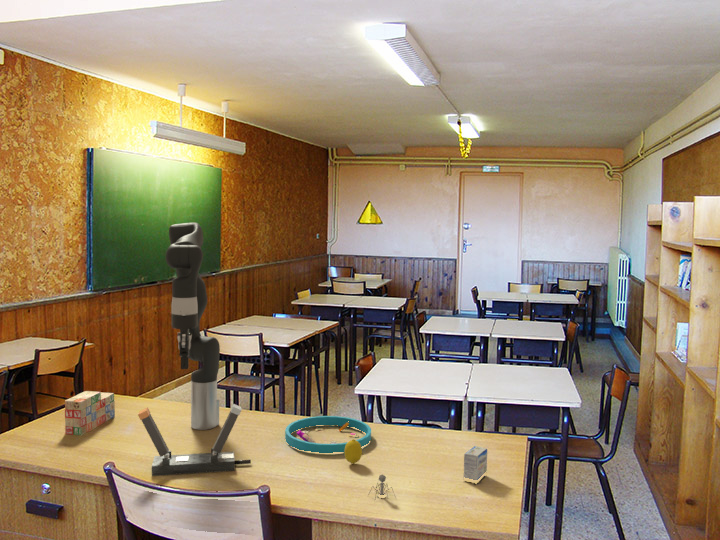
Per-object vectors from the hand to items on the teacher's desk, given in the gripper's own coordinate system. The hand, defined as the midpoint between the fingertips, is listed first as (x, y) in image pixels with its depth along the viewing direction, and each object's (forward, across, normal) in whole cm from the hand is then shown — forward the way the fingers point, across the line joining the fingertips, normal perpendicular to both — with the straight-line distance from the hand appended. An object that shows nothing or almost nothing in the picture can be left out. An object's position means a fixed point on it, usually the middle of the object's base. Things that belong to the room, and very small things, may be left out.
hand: (184, 368), depth 189 cm
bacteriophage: (+31, +29, +55) cm, 69 cm away
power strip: (+31, 0, +5) cm, 31 cm away
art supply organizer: (+32, -18, +48) cm, 60 cm away
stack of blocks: (+31, -46, -36) cm, 66 cm away
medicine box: (+31, +22, +85) cm, 94 cm away
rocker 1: (+27, 0, -5) cm, 28 cm away
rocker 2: (+27, 0, +9) cm, 28 cm away
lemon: (+31, +5, +51) cm, 60 cm away
